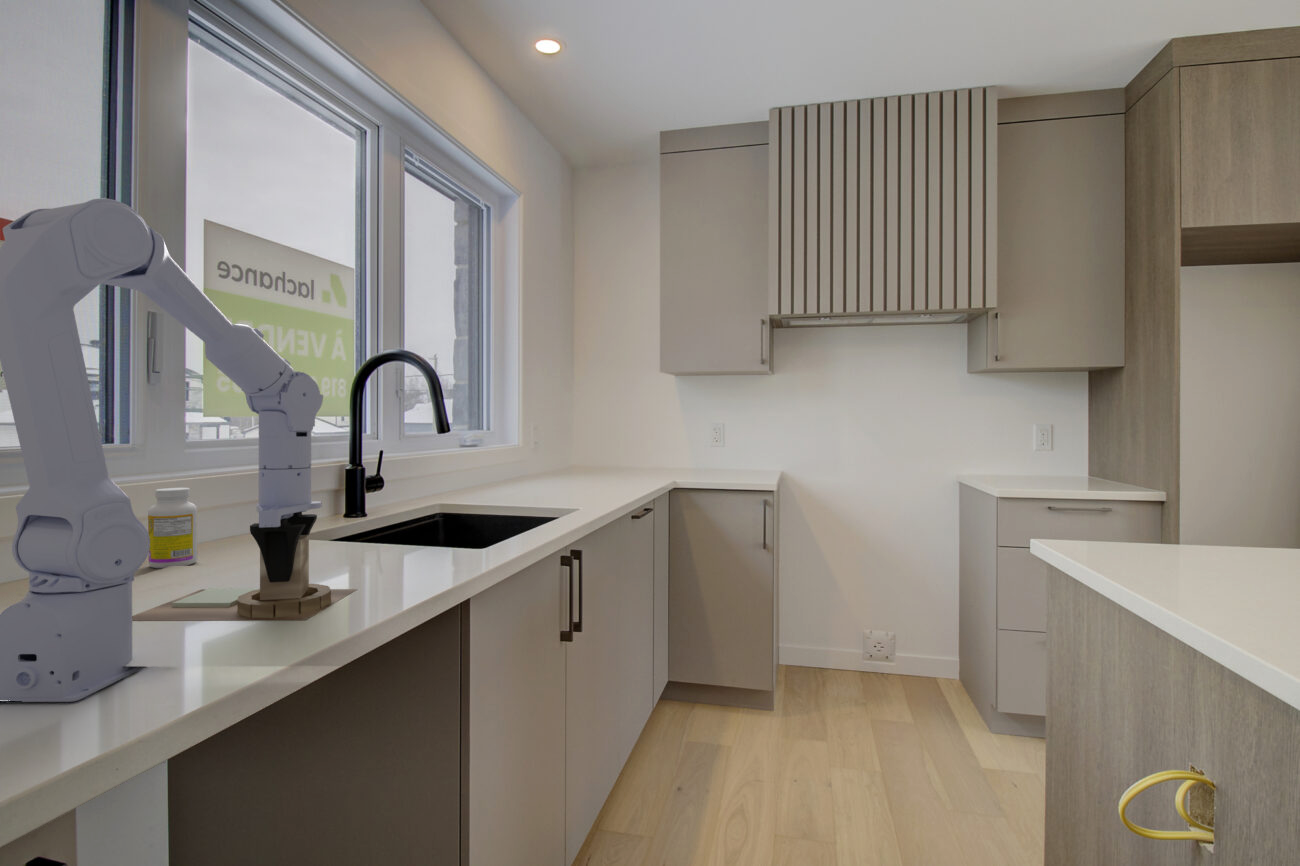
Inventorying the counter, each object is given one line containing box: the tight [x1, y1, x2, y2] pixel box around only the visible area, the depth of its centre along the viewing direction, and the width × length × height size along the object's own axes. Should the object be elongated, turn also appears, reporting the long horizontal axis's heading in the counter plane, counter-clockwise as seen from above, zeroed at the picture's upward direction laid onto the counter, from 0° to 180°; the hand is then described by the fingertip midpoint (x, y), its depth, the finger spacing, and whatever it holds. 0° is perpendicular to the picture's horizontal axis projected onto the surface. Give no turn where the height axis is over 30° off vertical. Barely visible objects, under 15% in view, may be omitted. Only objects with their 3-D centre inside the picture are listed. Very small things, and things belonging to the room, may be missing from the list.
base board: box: [132, 583, 358, 622], centre depth 81 cm, size 14×21×3 cm, turn 92°
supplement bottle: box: [147, 487, 198, 569], centre depth 108 cm, size 7×7×13 cm
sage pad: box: [172, 587, 260, 607], centre depth 83 cm, size 7×7×1 cm
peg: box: [259, 534, 310, 600], centre depth 80 cm, size 4×4×7 cm
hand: (285, 576), depth 80 cm, fingers closed on peg, 4 cm apart
